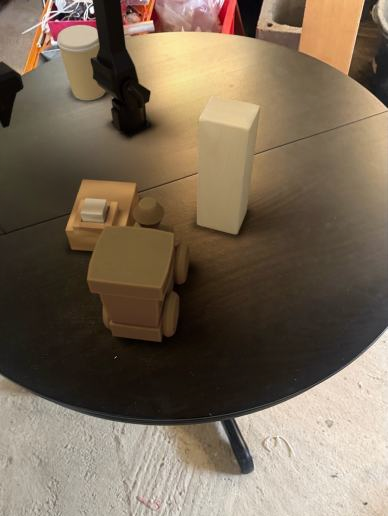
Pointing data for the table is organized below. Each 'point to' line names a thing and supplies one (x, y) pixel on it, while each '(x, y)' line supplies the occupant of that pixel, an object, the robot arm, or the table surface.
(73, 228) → the box with white insert
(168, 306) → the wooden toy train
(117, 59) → the robot arm
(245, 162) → the tall cream block
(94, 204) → the white rounded block
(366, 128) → the table surface
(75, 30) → the coffee cup
